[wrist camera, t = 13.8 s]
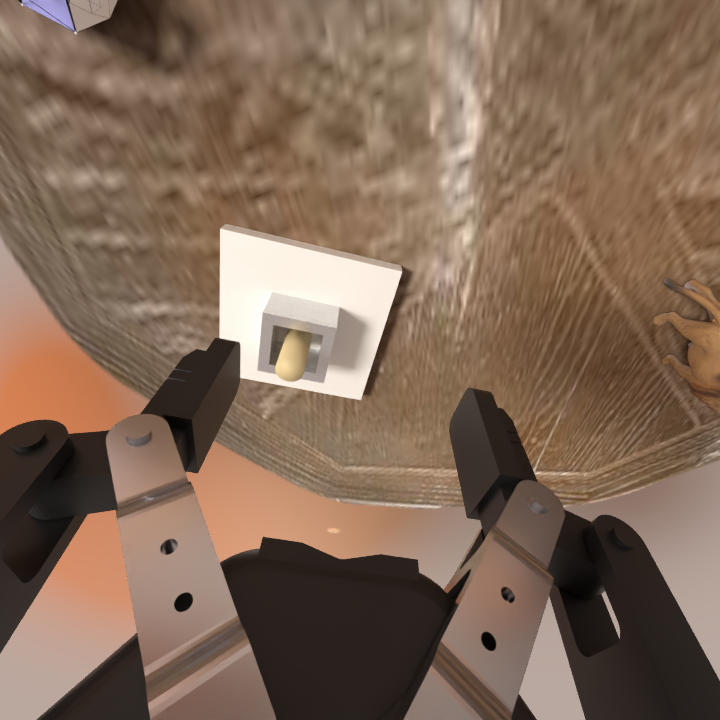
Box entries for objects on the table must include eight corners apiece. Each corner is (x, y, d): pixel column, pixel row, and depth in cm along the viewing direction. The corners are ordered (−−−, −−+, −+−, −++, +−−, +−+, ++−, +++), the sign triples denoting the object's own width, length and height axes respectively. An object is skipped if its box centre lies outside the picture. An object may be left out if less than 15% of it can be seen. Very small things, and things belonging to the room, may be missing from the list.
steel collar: (339, 306, 34) (336, 328, 31) (327, 359, 37) (323, 383, 34) (272, 292, 33) (262, 312, 30) (266, 347, 37) (257, 370, 33)
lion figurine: (722, 359, 39) (804, 418, 31) (668, 383, 41) (734, 444, 34) (690, 260, 32) (785, 305, 25) (629, 294, 34) (700, 345, 27)
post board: (400, 265, 33) (410, 308, 26) (360, 391, 42) (360, 447, 35) (225, 223, 31) (185, 257, 24) (223, 365, 40) (194, 419, 33)
